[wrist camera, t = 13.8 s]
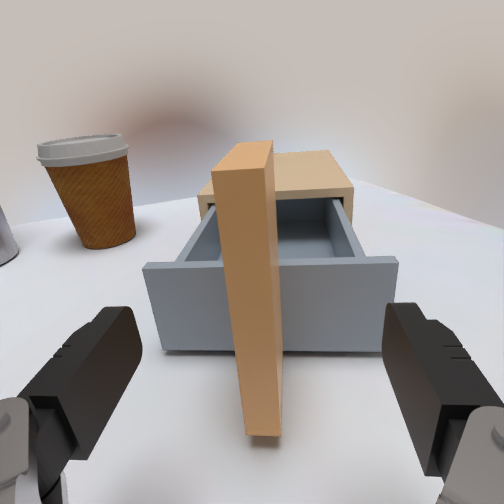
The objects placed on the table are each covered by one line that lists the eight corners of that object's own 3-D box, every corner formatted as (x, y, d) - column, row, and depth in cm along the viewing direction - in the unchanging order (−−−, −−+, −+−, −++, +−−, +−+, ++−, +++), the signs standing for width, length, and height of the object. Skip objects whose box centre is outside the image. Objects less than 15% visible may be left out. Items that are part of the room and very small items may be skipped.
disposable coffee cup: (154, 242, 39) (130, 136, 34) (66, 263, 36) (25, 149, 31) (143, 220, 47) (122, 131, 42) (70, 235, 44) (37, 141, 39)
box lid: (235, 202, 51) (230, 156, 48) (327, 198, 49) (328, 150, 46) (207, 262, 33) (197, 195, 30) (350, 258, 32) (353, 187, 29)
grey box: (219, 232, 39) (204, 119, 34) (340, 227, 37) (344, 108, 32) (120, 436, 16) (22, 182, 11) (424, 449, 14) (492, 153, 9)
